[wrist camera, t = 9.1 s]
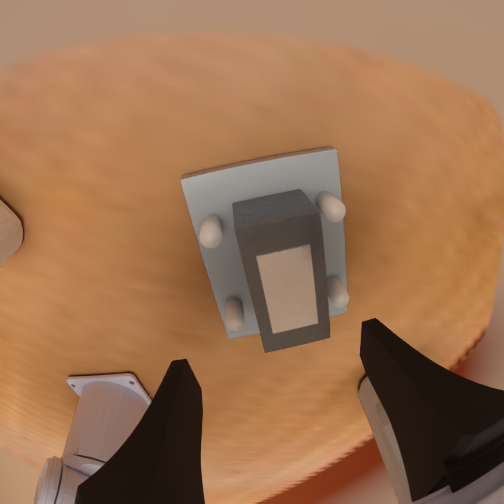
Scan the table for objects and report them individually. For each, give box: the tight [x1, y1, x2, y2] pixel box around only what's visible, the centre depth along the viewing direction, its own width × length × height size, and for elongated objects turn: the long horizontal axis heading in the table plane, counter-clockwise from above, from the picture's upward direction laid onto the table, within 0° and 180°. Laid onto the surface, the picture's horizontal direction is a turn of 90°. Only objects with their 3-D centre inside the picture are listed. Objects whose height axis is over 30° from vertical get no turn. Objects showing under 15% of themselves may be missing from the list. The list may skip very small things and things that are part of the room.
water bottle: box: [358, 376, 412, 504], centre depth 17 cm, size 9×8×25 cm
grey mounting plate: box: [181, 147, 350, 339], centre depth 19 cm, size 12×9×3 cm
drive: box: [232, 189, 330, 353], centre depth 17 cm, size 8×4×4 cm, turn 11°
